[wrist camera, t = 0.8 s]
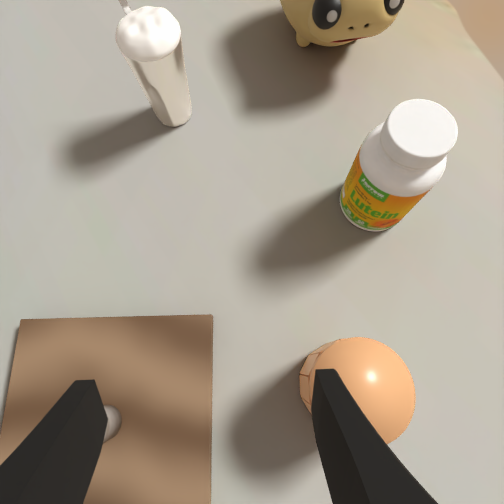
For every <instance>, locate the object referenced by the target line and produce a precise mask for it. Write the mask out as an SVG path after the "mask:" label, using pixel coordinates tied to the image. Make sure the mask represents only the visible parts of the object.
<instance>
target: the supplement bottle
mask: <svg viewBox="0 0 504 504" xmlns="http://www.w3.org/2000/svg"><path fill="white" fill-rule="evenodd" d="M457 136H458V128H457V124H456V121H455V119H454V118H453V116H452V115H451V113H450V112H449V111H448V110H447V109H445V108H444V107H443V106H441V105H439V104H438V103H435V102H433V101H429V100H424V99H412V100H407V101H404V102H402V103H400V104H399V105H397V106H396V107H395V108H394V109H393V110H392V111H391V112H390V114H389V116H388V117H387V119H386V121H385V122H384V123H382V124H380V125H378V126H377V127H375V128H374V129H373V130H372V131H371V132H370V133H369V134H368V135H367V136H366V138H365V140H364V141H363V143H362V145H361V147H360V149H359V151H358V153H357V156H356V158H355V160H354V162H353V165H352V167H351V169H350V171H349V173H348V176H347V178H346V180H345V182H344V184H343V187H342V189H341V193H340V206H341V209H342V211H343V213H344V215H345V217H346V218H347V219H348V220H349V221H350V222H351V223H352V224H354V225H355V226H357V227H359V228H361V229H363V230H367V231H383V230H387V229H389V228H391V227H393V226H394V225H396V224H397V223H398V222H399V221H400V220H401V219H402V218H403V217H404V216H405V215H406V214H407V213H408V212H409V211H410V210H411V209H412V208H413V207H414V206H415V205H416V204H417V203H418V202H419V201H420V200H421V199H422V198H423V197H424V196H425V195H426V193H427V192H428V191H430V189H431V188H432V187H433V186H434V185H435V184H436V183H437V182H438V181H439V180H440V178H441V177H442V175H443V173H444V170H445V167H446V160H447V158H446V155H447V154H448V153H449V151H450V150H451V149H452V148H453V146H454V144H455V142H456V140H457Z"/></svg>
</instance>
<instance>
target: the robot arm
mask: <svg viewBox="0 0 504 504" xmlns="http://www.w3.org/2000/svg"><path fill="white" fill-rule="evenodd" d="M311 413H312V419H313V426H314V432H315V438H316V443H317V447H318V450H319V454H320V458H321V462H322V465H323V469H324V473H325V477H326V480H327V484H328V488H329V491H330V495H331V499H332V503H333V504H438V503H437V502H436V501H435V500H434V499H433V498H432V497H431V496H430V495H429V493H428V492H427V491H426V490H425V489H424V488H423V487H422V486H421V485H420V484H419V482H418V481H417V480H416V479H415V478H414V477H413V476H412V475H411V473H410V472H409V471H408V470H407V469H406V468H405V466H404V465H403V464H402V463H401V462H400V460H399V459H398V458H397V457H396V455H395V454H394V453H393V452H392V450H391V449H390V448H389V447H388V445H387V444H386V443H385V442H384V440H383V439H382V438H381V436H380V435H379V434H378V432H377V431H376V430H375V428H374V427H373V425H372V424H371V423H370V421H369V420H368V419H367V417H366V416H365V414H364V413H363V412H362V410H361V409H360V407H359V406H358V404H357V403H356V401H355V400H354V398H353V397H352V395H351V394H350V392H349V391H348V389H347V387H346V386H345V384H344V383H343V381H342V379H341V378H340V376H339V374H338V372H337V371H336V370H335V369H316V370H315V378H314V387H313V395H312V404H311ZM107 423H108V417H107V414H106V411H105V408H104V405H103V403H102V400H101V397H100V394H99V391H98V388H97V385H96V382H95V379H92V380H75V381H74V382H73V383H72V384H71V386H70V387H69V388H68V389H67V390H66V391H65V393H64V394H63V395H62V396H61V397H60V399H59V400H58V401H57V402H56V403H55V404H54V406H53V407H52V408H51V409H50V410H49V412H48V413H47V414H46V415H45V416H44V417H43V419H42V420H41V421H40V422H39V423H38V424H37V425H36V427H35V428H34V429H33V430H32V431H31V432H30V433H29V435H28V436H27V437H26V438H25V439H24V440H23V441H22V442H21V444H20V445H19V446H18V447H17V448H16V449H15V450H14V451H13V452H12V453H11V454H10V456H9V457H8V458H7V459H6V460H5V461H4V462H3V463H2V464H1V465H0V504H83V502H84V499H85V497H86V494H87V491H88V488H89V485H90V482H91V479H92V477H93V474H94V471H95V468H96V465H97V462H98V459H99V456H100V453H101V449H102V445H103V441H104V436H105V432H106V427H107Z"/></svg>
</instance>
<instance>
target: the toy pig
mask: <svg viewBox="0 0 504 504" xmlns="http://www.w3.org/2000/svg"><path fill="white" fill-rule="evenodd" d="M280 1H281V5H282V8H283V10H284V12H285V15H286V17H287V19H288V20H289V22H290V24H291V25H292V27H293V28H294V29H295V31H296V41H297V44H298V45H299V46H301V47H306V46H308V45H309V44H310V43H311V42H312V43H314V44H317V45H321V46H339V45H343V44H347V43H349V42H352V41H354V40H357V39H361V38H366V37H372V36H375V35H378V34H380V33H381V32H383V31H384V30H385V29H387V28H388V27H389V26H390V25H391V24H392V23H393V21H394V20H395V18H396V17H397V15H398V12H399V10H400V9H401V7H402V5H403V3H404V0H280Z"/></svg>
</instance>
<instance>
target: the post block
mask: <svg viewBox="0 0 504 504" xmlns="http://www.w3.org/2000/svg"><path fill="white" fill-rule="evenodd" d="M212 367H213V316H212V315H172V316H133V317H94V318H55V319H21V321H20V327H19V332H18V338H17V343H16V349H15V355H14V360H13V366H12V371H11V377H10V383H9V388H8V394H7V399H6V405H5V411H4V416H3V422H2V427H1V433H0V465H1V464H2V463H3V462H4V461H5V460H6V459H7V458H8V457H9V456H10V454H11V453H12V452H13V451H14V450H15V449H16V448H17V447H18V446H19V445H20V444H21V442H22V441H23V440H24V439H25V438H26V437H27V436H28V435H29V433H30V432H31V431H32V430H33V429H34V428H35V427H36V425H37V424H38V423H39V422H40V421H41V420H42V419H43V417H44V416H45V415H46V414H47V413H48V412H49V410H50V409H51V408H52V407H53V406H54V404H55V403H56V402H57V401H58V400H59V399H60V397H61V396H62V395H63V394H64V393H65V391H66V390H67V389H68V388H69V387H70V386H71V384H72V383H73V382H74V381H75V380H92V379H95V382H96V385H97V388H98V391H99V394H100V397H101V400H102V403H103V405H104V408H105V411H106V414H107V417H108V423H107V427H106V432H105V436H104V441H103V445H102V449H101V453H100V456H99V459H98V462H97V465H96V468H95V471H94V474H93V477H92V479H91V482H90V485H89V488H88V491H87V494H86V497H85V499H84V502H83V504H211V451H212Z"/></svg>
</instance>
